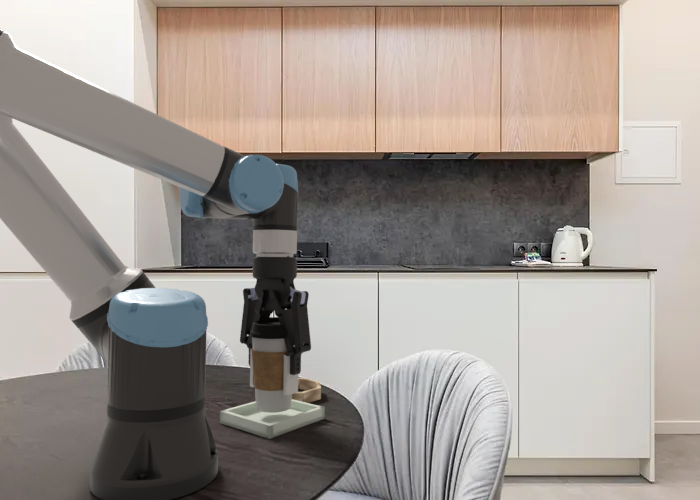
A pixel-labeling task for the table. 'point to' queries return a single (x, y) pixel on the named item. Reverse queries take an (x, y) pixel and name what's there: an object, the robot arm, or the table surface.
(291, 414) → the tray
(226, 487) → the table surface
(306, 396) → the holder ring
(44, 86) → the robot arm
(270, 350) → the coffee cup
